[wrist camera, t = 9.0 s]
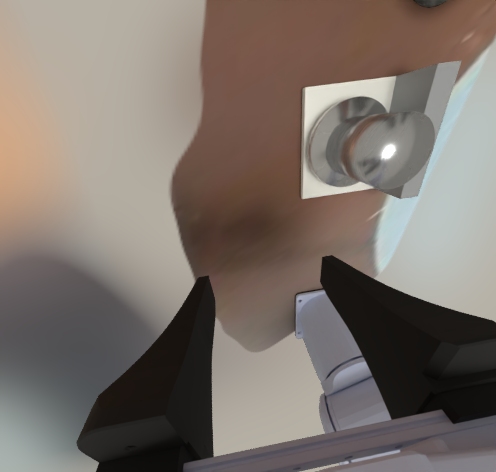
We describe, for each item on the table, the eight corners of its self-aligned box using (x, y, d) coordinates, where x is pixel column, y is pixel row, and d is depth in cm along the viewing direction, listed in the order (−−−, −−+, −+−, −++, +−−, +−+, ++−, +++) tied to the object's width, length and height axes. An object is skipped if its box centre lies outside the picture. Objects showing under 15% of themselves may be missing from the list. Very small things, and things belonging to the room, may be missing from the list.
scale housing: (387, 184, 20) (421, 195, 17) (300, 197, 20) (317, 211, 17) (413, 75, 16) (465, 60, 13) (302, 88, 16) (325, 77, 12)
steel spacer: (369, 172, 17) (418, 186, 13) (322, 176, 17) (356, 192, 13) (383, 114, 15) (447, 108, 11) (329, 117, 15) (373, 113, 11)
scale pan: (375, 179, 19) (381, 181, 18) (306, 189, 18) (309, 192, 18) (392, 92, 15) (400, 90, 15) (308, 103, 15) (313, 102, 14)
